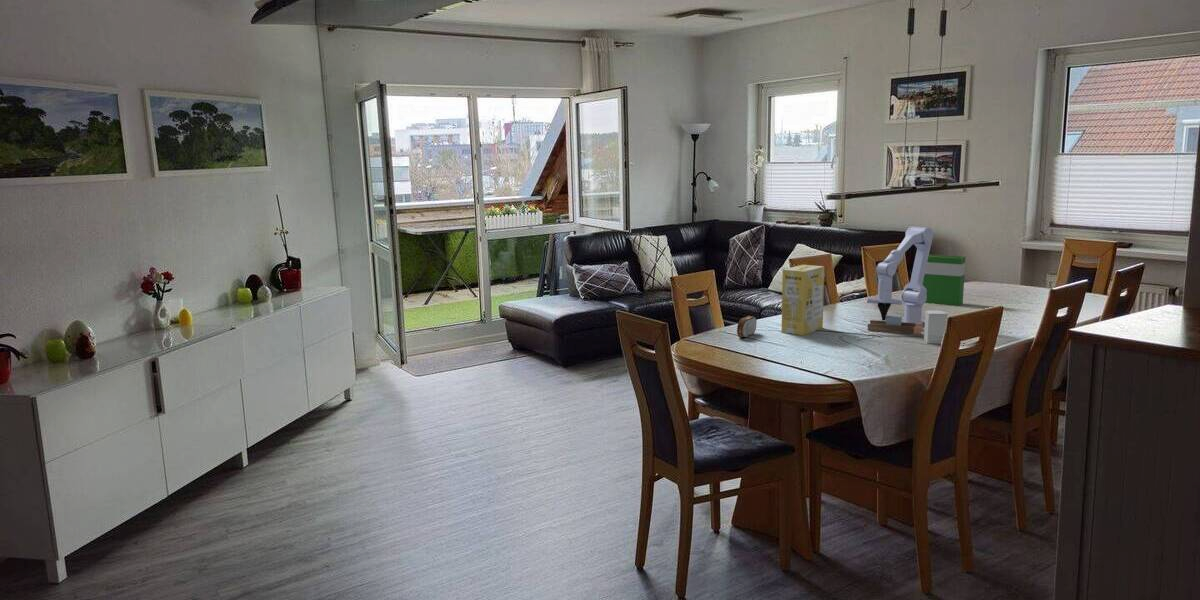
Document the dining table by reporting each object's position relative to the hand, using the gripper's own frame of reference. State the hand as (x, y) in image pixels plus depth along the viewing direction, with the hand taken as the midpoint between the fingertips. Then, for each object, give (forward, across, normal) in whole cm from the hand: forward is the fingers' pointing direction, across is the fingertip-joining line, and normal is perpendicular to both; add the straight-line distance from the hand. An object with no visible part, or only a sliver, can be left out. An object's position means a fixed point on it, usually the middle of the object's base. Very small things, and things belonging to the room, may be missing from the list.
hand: (883, 319), depth 357 cm
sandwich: (+5, -53, -31) cm, 62 cm away
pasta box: (+5, -33, -12) cm, 36 cm away
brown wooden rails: (+4, +5, 0) cm, 7 cm away
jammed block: (+4, +4, 0) cm, 6 cm away
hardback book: (+5, +21, +72) cm, 75 cm away
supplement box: (+5, +22, -16) cm, 28 cm away
